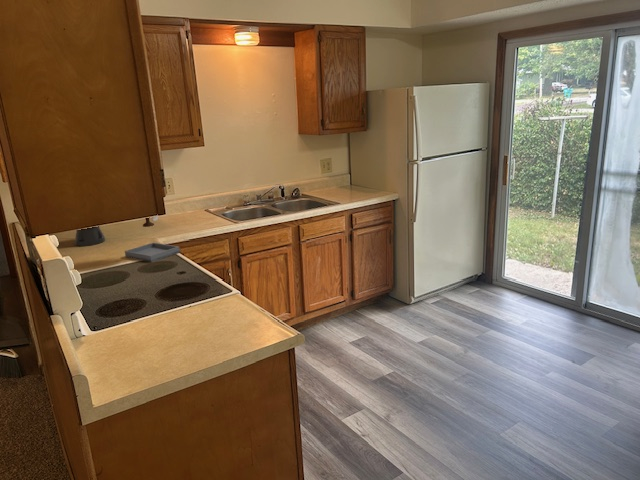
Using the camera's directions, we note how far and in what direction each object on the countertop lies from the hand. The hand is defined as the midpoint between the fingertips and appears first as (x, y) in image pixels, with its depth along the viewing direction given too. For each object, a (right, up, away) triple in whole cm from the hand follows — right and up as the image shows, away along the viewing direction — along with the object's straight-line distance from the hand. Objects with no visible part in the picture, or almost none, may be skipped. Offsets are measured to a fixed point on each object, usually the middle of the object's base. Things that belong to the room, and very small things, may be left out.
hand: (147, 219), depth 232 cm
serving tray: (+1, -17, +5) cm, 18 cm away
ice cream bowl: (0, -3, +1) cm, 3 cm away
